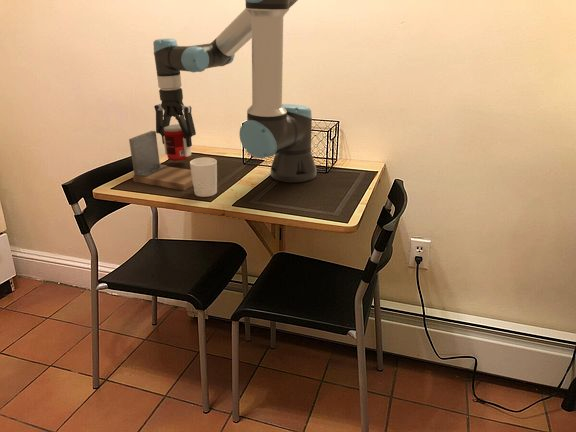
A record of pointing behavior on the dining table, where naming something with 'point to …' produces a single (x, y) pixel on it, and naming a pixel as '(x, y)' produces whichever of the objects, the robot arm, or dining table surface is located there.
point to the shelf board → (168, 178)
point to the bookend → (145, 154)
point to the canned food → (174, 142)
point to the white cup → (204, 176)
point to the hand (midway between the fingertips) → (178, 154)
